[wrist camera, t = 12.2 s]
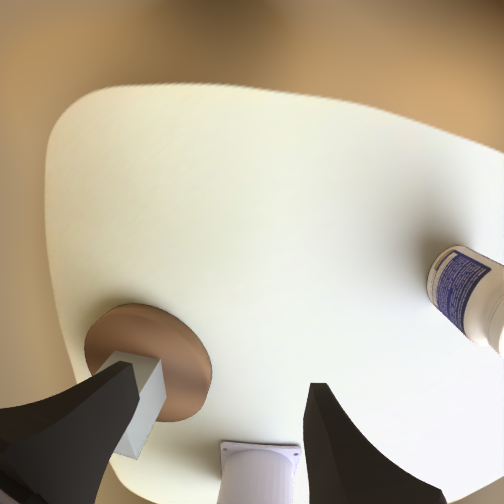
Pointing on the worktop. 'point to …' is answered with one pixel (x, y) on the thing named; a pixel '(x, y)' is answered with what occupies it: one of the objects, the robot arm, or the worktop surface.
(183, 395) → the plinth
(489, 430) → the worktop surface
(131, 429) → the block
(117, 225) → the worktop surface
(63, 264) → the worktop surface
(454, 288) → the pill bottle
